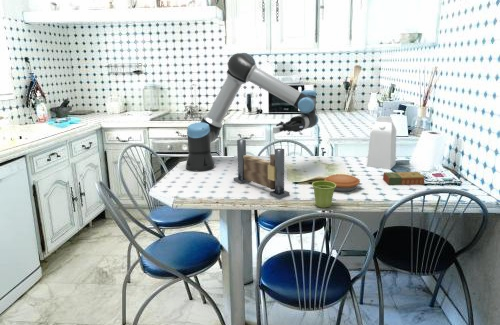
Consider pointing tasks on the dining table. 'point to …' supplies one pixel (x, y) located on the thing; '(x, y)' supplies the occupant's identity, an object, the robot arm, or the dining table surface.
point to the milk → (382, 144)
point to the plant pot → (323, 193)
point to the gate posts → (273, 171)
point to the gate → (258, 170)
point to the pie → (343, 182)
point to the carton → (403, 178)
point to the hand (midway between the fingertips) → (274, 130)
